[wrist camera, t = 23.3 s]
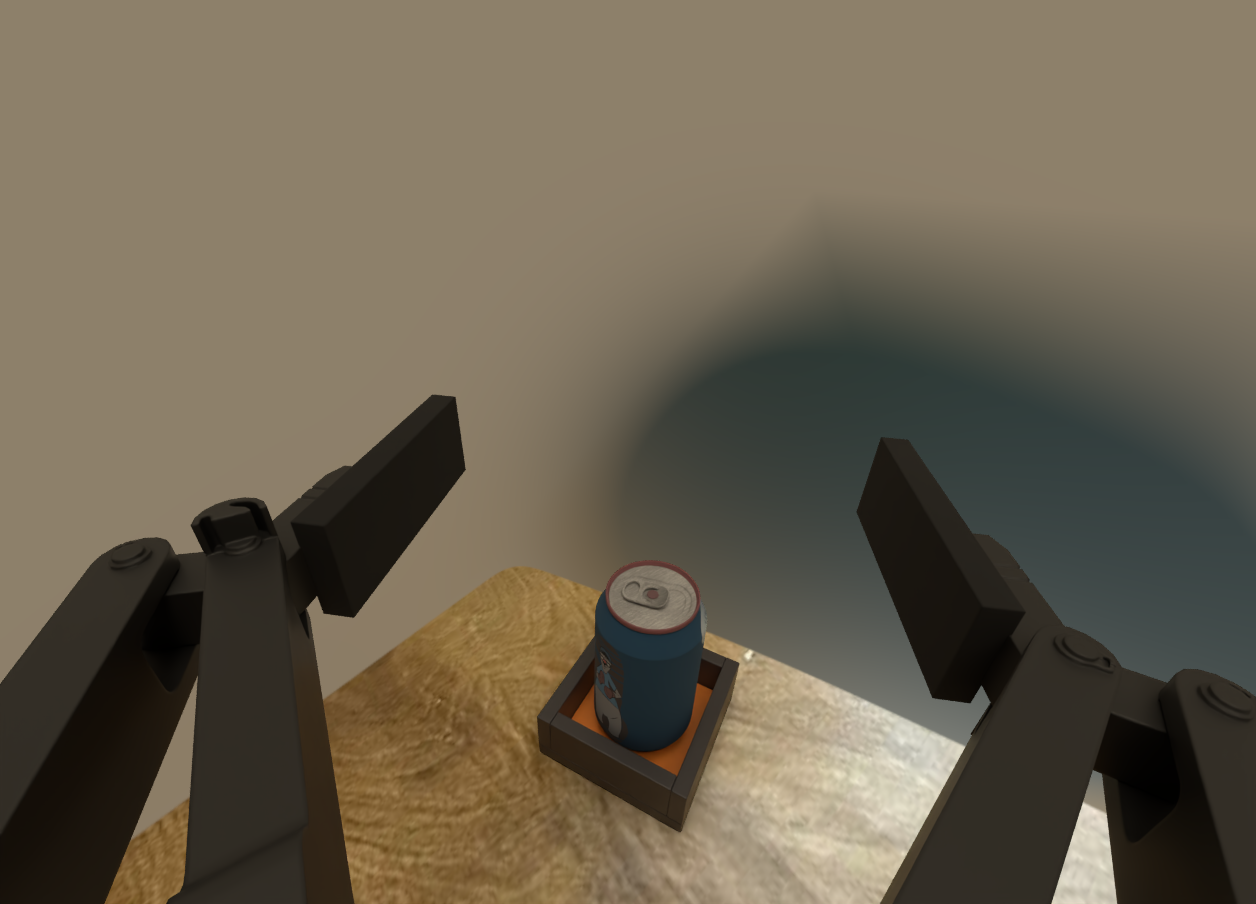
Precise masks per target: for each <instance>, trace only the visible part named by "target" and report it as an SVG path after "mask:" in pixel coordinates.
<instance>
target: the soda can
mask: <svg viewBox="0 0 1256 904" xmlns="http://www.w3.org/2000/svg"><path fill="white" fill-rule="evenodd" d="M706 626H707V615H706V610H705V607H704V605H703V603H702V601H701V599H700V592H699V589H698V586H697V584H696V583H695V581H694V580H693V579H692V577H690V576H689V574H688V573H686V572H685V571H684V570H682V569H681V568H679V567H677V566H675V565H673V564H670V563H666V562H661V561H653V560H648V561H647V560H645V561H638V562H633V563H631V564H628V565H625V566H623V567H622V568H620V569H619V570H617V571H616V572H615V573H614V574H613V575H612V576H611V578H610V580H609V581H608V584H607V587H606V589H605V590H604V592H603V593H602V594H601V596H600V598H599V600H598V602H597V606H596V611H595V673H594V709H595V714H596V717H597V720H598V722H599V724H600V726H601V727H602V729H603V730H604V732H605V733H606V734H607V735H608V736H609V737H610V738H611V739H612V740H613V741H615V742H616V743H618V744H619V745H621V746H623V747H625V748H628V749H631V750H634V751H640V752H650V751H656V750H660V749H663V748H665V747H667V746H669V745H671V744H672V743H674V742H675V741H677V740H678V739H679V738H680V737H681V736H682V735H683V733H684V732H685V731H686V729H687V727H688V725H689V723H690V720H691V717H692V711H693V705H694V699H695V693H696V687H697V681H698V675H699V669H700V663H701V657H702V651H703V645H704V639H705V633H706Z"/></svg>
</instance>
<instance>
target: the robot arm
mask: <svg viewBox="0 0 1256 904" xmlns="http://www.w3.org/2000/svg"><path fill="white" fill-rule="evenodd" d="M465 470H466V469H465V462H464V455H463V448H462V442H461V434H460V427H459V419H458V412H457V405H456V398H455V397H452V396H442V395H431V397H429V398H428V399H427V400H426V401H425V402H424V403H423V404H421V405H420V406H419V407H418V408H417V409H416V410H415V411H414V412H412V413H411V414H410V415H409V416H408V417H407V418H406V419H405V420H404V421H402V422H401V423H400V424H399V425H398V426H397V427H396V428H395V429H394V430H392V431H391V432H390V433H389V434H388V435H387V436H386V437H385V438H384V439H383V440H381V441H380V442H379V443H378V444H377V445H376V446H375V447H373V448H372V449H371V450H370V451H369V452H368V453H367V454H366V455H364V456H363V457H362V458H361V459H360V460H359V461H358V462H357V463H356V464H354V465H353V466H343V467H341V468H339V469H337V470H335V471H333V472H331V473H329V474H327V475H325V476H324V477H323V478H322V479H321V480H320V481H318V482H317V483H316V484H315V485H314V486H313V488H312V489H309V490H308V491H307V492H305V493H304V494H303V495H302V497H301V498H298V499H297V500H296V501H295V502H294V503H293V504H291V505H290V506H289V507H288V508H287V509H286V510H284V511H283V512H282V513H281V514H280V515H279V516H277V517H276V518H275V519H274V520H273V521H272V519H271V516H270V514H269V511H268V509H267V506H266V504H265V503H264V501H262V500H259V499H257V498H238V499H231V500H228V501H224V502H221V503H218V504H216V505H214V506H212V507H210V508H208V509H206V510H204V511H202V512H201V513H200V514H199V515H198V516H197V517H195V518H194V520H193V522H192V524H191V527H192V529H193V531H194V533H195V535H196V537H197V539H198V542H199V544H200V545H201V548H202V550H203V551H204V552H199V553H189V554H179V555H176V554H175V552H174V550H173V548H172V547H171V545H170V544H169V542H168V541H167V540H165V539H161V538H143V539H139V540H134V541H129V542H126V543H124V544H120V545H118V546H116V547H114V548H113V549H111V550H109V551H108V552H106V553H104V554H102V555H101V556H100V557H99V558H97V559H96V560H95V561H94V562H93V563H92V564H91V565H90V567H89V568H88V569H87V571H86V572H85V573H84V575H83V576H82V577H81V579H80V580H79V581H78V582H77V584H76V585H75V587H74V588H73V589H72V590H71V592H70V593H69V594H68V596H67V597H66V598H65V600H64V601H63V602H62V603H61V605H60V606H59V607H58V609H57V610H56V611H55V613H54V614H53V615H52V617H51V618H50V619H49V621H48V622H47V623H46V625H45V626H44V627H43V628H42V630H41V631H40V632H39V634H38V635H37V636H36V638H35V639H34V640H33V642H32V643H31V644H30V646H29V647H28V648H27V650H26V651H25V652H24V653H23V655H22V656H21V657H20V659H19V660H18V661H17V663H16V664H15V665H14V667H13V668H12V669H11V670H10V672H9V673H8V674H7V676H6V677H5V678H4V680H3V681H2V682H1V684H0V904H104V903H105V901H106V898H107V896H108V893H109V891H110V889H111V886H112V884H113V881H114V879H115V876H116V874H117V871H118V869H119V867H120V864H121V862H122V859H123V857H124V854H125V852H126V849H127V847H128V845H129V842H130V840H131V837H132V835H133V832H134V830H135V827H136V825H137V823H138V820H139V818H140V815H141V813H142V810H143V808H144V805H145V803H146V800H147V798H148V796H149V793H150V791H151V788H152V786H153V783H154V781H155V778H156V776H157V774H158V771H159V769H160V766H161V764H162V761H163V759H164V756H165V754H166V752H167V749H168V747H169V744H170V742H171V739H172V737H173V734H174V732H175V730H176V727H177V724H178V722H179V720H180V717H181V715H182V712H183V710H184V708H185V705H186V702H187V700H188V698H189V695H190V693H191V690H192V688H193V686H194V683H195V681H196V678H197V676H198V683H197V697H196V712H195V713H196V714H195V728H194V743H193V758H192V774H191V788H190V789H191V790H190V803H189V819H188V834H187V849H186V864H185V876H184V883H183V886H182V889H181V891H180V892H179V893H177V894H176V895H174V896H173V897H171V898H169V899H168V901H167V903H166V904H354V899H353V893H352V887H351V880H350V874H349V867H348V861H347V854H346V848H345V841H344V835H343V828H342V822H341V815H340V809H339V802H338V796H337V789H336V783H335V776H334V770H333V763H332V757H331V751H330V744H329V738H328V731H327V725H326V718H325V712H324V705H323V699H322V692H321V686H320V679H319V674H318V666H317V660H316V653H315V648H314V640H313V634H312V627H311V621H310V617H309V614H308V612H307V609H306V608H307V607H308V606H309V604H310V603H311V602H312V601H313V600H314V599H315V598H316V596H317V597H318V599H319V602H320V605H321V607H322V610H323V613H324V614H331V615H338V616H345V617H352V618H354V617H355V616H356V614H357V613H358V612H359V610H360V609H361V608H362V606H363V605H364V604H365V602H366V601H367V600H368V598H369V597H370V596H371V594H372V593H373V592H374V591H375V589H376V588H377V586H378V585H379V584H380V583H381V581H382V580H383V579H384V577H385V576H386V575H387V573H388V572H389V571H390V569H391V568H392V567H393V565H394V564H395V563H396V561H397V560H398V558H399V557H400V556H401V555H402V553H403V552H404V551H405V549H406V548H407V547H408V545H409V544H410V543H411V541H412V540H413V539H414V537H415V536H416V535H417V533H418V532H419V531H420V529H421V528H422V527H423V525H424V524H425V523H426V521H427V520H428V519H429V517H430V516H431V515H432V514H433V512H434V511H435V510H436V508H437V507H438V505H439V504H440V503H441V502H442V500H443V499H444V498H445V496H446V495H447V493H448V492H449V491H450V490H451V488H452V487H453V485H454V484H455V483H456V482H457V480H458V479H459V477H460V476H461V475H462V474H463V472H464V471H465ZM857 514H858V516H859V519H860V522H861V524H862V526H863V529H864V531H865V533H866V536H867V538H868V541H869V544H870V546H871V548H872V551H873V553H874V556H875V558H876V561H877V563H878V566H879V568H880V571H881V573H882V575H883V578H884V580H885V583H886V585H887V588H888V590H889V593H890V595H891V597H892V600H893V602H894V605H895V607H896V609H897V612H898V614H899V617H900V620H901V622H902V624H903V627H904V629H905V632H906V634H907V636H908V639H909V642H910V644H911V646H912V649H913V651H914V654H915V656H916V659H917V661H918V664H919V666H920V669H921V671H922V673H923V675H924V678H925V680H926V683H927V686H928V688H929V691H930V693H931V695H932V698H935V699H942V700H950V701H957V702H964V703H971V701H972V700H973V698H974V696H975V695H976V693H977V691H978V690H979V688H980V686H981V685H982V687H983V688H984V690H985V692H986V694H987V696H988V698H989V700H990V702H991V703H990V705H989V706H988V708H987V709H986V711H985V712H984V714H983V715H982V717H981V719H980V720H979V722H978V723H977V725H976V726H975V728H974V730H973V731H972V733H971V735H972V736H971V738H970V740H969V742H968V743H967V745H966V747H965V749H964V751H963V753H962V754H961V756H960V758H959V760H958V762H957V764H956V765H955V767H954V769H953V771H952V773H951V775H950V776H949V778H948V780H947V782H946V784H945V786H944V787H943V789H942V791H941V793H940V795H939V797H938V798H937V800H936V802H935V804H934V806H933V808H932V809H931V811H930V813H929V815H928V817H927V819H926V820H925V822H924V824H923V826H922V828H921V830H920V831H919V833H918V835H917V837H916V839H915V841H914V842H913V844H912V846H911V848H910V850H909V852H908V853H907V855H906V857H905V859H904V861H903V863H902V864H901V866H900V868H899V870H898V872H897V874H896V875H895V877H894V879H893V881H892V883H891V885H890V886H889V888H888V890H887V892H886V894H885V896H884V897H883V899H882V901H881V903H880V904H1051V903H1052V900H1053V896H1054V893H1055V890H1056V887H1057V884H1058V880H1059V877H1060V874H1061V871H1062V867H1063V864H1064V861H1065V858H1066V855H1067V851H1068V848H1069V845H1070V842H1071V839H1072V835H1073V832H1074V829H1075V826H1076V822H1077V819H1078V816H1079V813H1080V810H1081V806H1082V803H1083V800H1084V797H1085V793H1086V790H1087V787H1088V784H1089V780H1090V777H1091V774H1092V771H1093V770H1094V771H1097V772H1099V773H1102V777H1103V786H1104V794H1105V803H1106V811H1107V820H1108V828H1109V837H1110V845H1111V854H1112V862H1113V871H1114V879H1115V888H1116V897H1117V904H1256V697H1255V696H1254V695H1252V694H1251V693H1250V692H1248V691H1247V690H1245V689H1243V688H1242V687H1241V686H1239V685H1237V684H1235V683H1233V682H1231V681H1229V680H1227V679H1224V678H1222V677H1220V676H1218V675H1216V674H1212V673H1209V672H1205V671H1202V670H1198V669H1183V670H1181V671H1180V672H1178V673H1176V674H1175V675H1174V676H1173V677H1172V679H1171V680H1170V681H1169V682H1168V683H1166V682H1163V681H1160V680H1157V679H1154V678H1151V677H1148V676H1145V675H1143V674H1140V673H1137V672H1134V671H1130V670H1127V669H1125V668H1122V667H1121V665H1120V664H1119V662H1118V661H1117V659H1116V658H1115V656H1114V655H1113V654H1112V653H1111V652H1110V651H1109V650H1107V648H1105V647H1104V646H1103V645H1102V644H1101V643H1099V642H1097V641H1096V640H1094V639H1093V638H1091V637H1090V636H1088V635H1086V634H1084V633H1082V632H1080V631H1077V630H1075V629H1072V628H1070V627H1065V626H1064V625H1063V624H1062V622H1061V621H1060V620H1059V618H1058V617H1057V616H1056V614H1055V613H1054V611H1053V610H1052V609H1051V607H1050V606H1049V605H1048V603H1047V602H1046V601H1045V599H1044V598H1043V597H1042V595H1041V594H1040V593H1039V592H1038V590H1037V589H1036V587H1035V586H1034V585H1033V584H1032V583H1030V582H1029V578H1028V577H1027V575H1026V574H1025V573H1024V571H1023V570H1022V569H1020V566H1019V565H1018V563H1017V562H1016V561H1015V559H1014V558H1013V557H1012V555H1011V554H1010V552H1009V551H1008V550H1007V549H1006V548H1004V547H1003V546H1002V545H1000V544H999V543H998V542H996V541H995V540H994V539H993V538H991V537H990V536H989V535H981V534H972V533H971V531H970V529H969V528H968V527H967V525H966V524H965V522H964V521H963V519H962V518H961V516H960V515H959V514H958V512H957V510H956V509H955V508H954V506H953V505H952V503H951V502H950V500H949V499H948V497H947V496H946V494H945V493H944V492H943V490H942V489H941V487H940V486H939V484H938V483H937V481H936V480H935V478H934V477H933V475H932V474H931V473H930V471H929V470H928V468H927V467H926V465H925V464H924V462H923V461H922V459H921V458H920V457H919V455H918V454H917V452H916V451H915V449H914V448H913V446H912V445H911V443H910V442H909V440H904V439H893V438H883V437H882V438H881V439H880V442H879V445H878V449H877V452H876V455H875V458H874V461H873V464H872V467H871V470H870V473H869V476H868V479H867V482H866V485H865V488H864V491H863V494H862V497H861V500H860V503H859V506H858V509H857Z"/></svg>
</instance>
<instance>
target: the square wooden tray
mask: <svg viewBox="0 0 1256 904" xmlns="http://www.w3.org/2000/svg"><path fill="white" fill-rule="evenodd" d="M738 667H739V663H738V662H736V661H733V660H731V659H729V658H726V657H724V656H721V655H719V654H717V653H714V652H712V651H710V650H707V649H705V648H703V651H702V657H701V663H700V669H699V675H698V681H697V687H696V693H695V699H694V705H693V711H692V717H691V720H690V723H689V725H688V727H687V729H686V731H685V732H684V733H683V735H682V736H681V737H680V738H679V739H678V740H677V741H675V742H674V743H672V744H671V745H669V746H667V747H665V748H663V749H660V750H656V751H650V752H640V751H634V750H631V749H628V748H625V747H623V746H621V745H619V744H618V743H616V742H615V741H613V740H612V739H611V738H610V737H609V736H608V735H607V734H606V733H605V732H604V730H603V729H602V727H601V726H600V724H599V722H598V720H597V717H596V714H595V709H594V673H595V636H594V638H593V639H592V640H591V642H590V643H589V645H588V646H587V648H586V649H585V650H584V652H583V653H582V655H581V656H580V657H579V659H578V660H577V662H576V663H575V664H574V666H573V667H572V669H571V670H570V671H569V673H568V674H567V676H566V677H565V678H564V680H563V681H562V683H561V684H560V686H559V687H558V688H557V690H556V691H555V693H554V694H553V695H552V697H551V698H550V700H549V701H548V702H547V704H546V705H545V707H544V708H543V709H542V711H541V712H540V714H539V715H538V716H537V722H538V734H539V743H540V751H541V752H542V753H544V754H546V755H547V756H549V757H551V758H553V759H554V760H556V761H558V762H559V763H561V764H563V765H565V766H566V767H568V768H570V769H572V770H573V771H575V772H577V773H578V774H580V775H582V776H584V777H585V778H587V779H589V780H591V781H592V782H594V783H596V784H597V785H599V786H601V787H603V788H604V789H606V790H608V791H609V792H611V793H613V794H615V795H616V796H618V797H620V798H622V799H623V800H625V801H627V802H628V803H630V804H632V805H634V806H635V807H637V808H639V809H641V810H642V811H644V812H646V813H647V814H649V815H651V816H653V817H654V818H656V819H658V820H660V821H661V822H663V823H665V824H666V825H668V826H670V827H672V828H673V829H675V830H677V831H678V832H681V830H682V828H683V825H684V822H685V820H686V817H687V814H688V812H689V809H690V806H691V804H692V801H693V798H694V796H695V793H696V790H697V788H698V785H699V782H700V780H701V777H702V774H703V772H704V769H705V766H706V764H707V761H708V758H709V756H710V753H711V750H712V748H713V745H714V743H715V740H716V737H717V735H718V732H719V729H720V727H721V724H722V721H723V719H724V716H725V713H726V711H727V708H728V705H729V703H730V700H731V697H732V693H733V689H734V685H735V680H736V676H737V672H738Z"/></svg>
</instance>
